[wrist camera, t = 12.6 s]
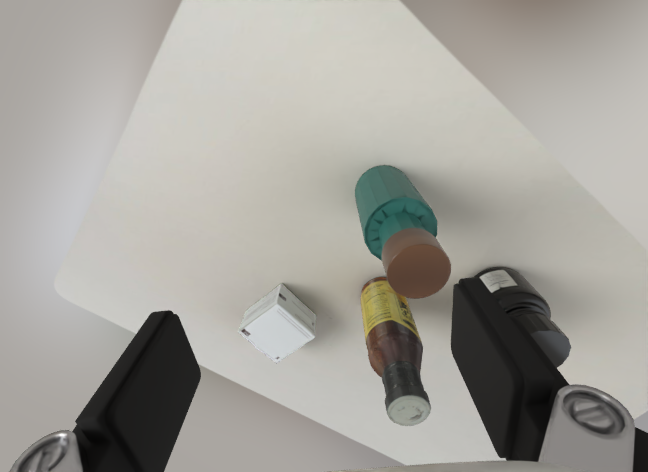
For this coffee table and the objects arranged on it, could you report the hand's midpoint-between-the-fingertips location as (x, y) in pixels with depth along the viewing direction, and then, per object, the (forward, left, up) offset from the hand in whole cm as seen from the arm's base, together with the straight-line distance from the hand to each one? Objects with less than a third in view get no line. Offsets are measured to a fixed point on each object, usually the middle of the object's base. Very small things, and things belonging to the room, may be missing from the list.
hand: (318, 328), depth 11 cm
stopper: (+7, +6, -18) cm, 21 cm away
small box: (+24, -10, -32) cm, 41 cm away
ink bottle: (+23, +21, -32) cm, 45 cm away
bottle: (+6, +6, -32) cm, 33 cm away
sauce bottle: (+21, +5, -32) cm, 39 cm away
